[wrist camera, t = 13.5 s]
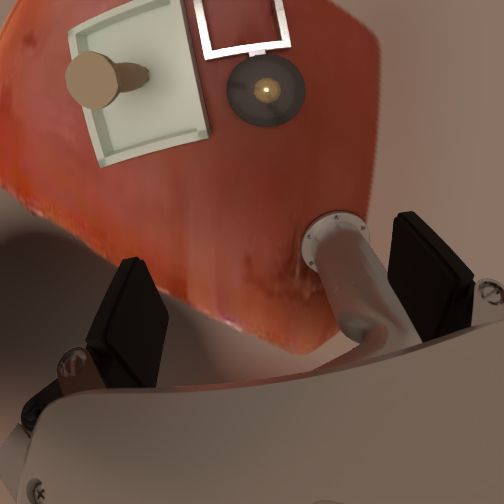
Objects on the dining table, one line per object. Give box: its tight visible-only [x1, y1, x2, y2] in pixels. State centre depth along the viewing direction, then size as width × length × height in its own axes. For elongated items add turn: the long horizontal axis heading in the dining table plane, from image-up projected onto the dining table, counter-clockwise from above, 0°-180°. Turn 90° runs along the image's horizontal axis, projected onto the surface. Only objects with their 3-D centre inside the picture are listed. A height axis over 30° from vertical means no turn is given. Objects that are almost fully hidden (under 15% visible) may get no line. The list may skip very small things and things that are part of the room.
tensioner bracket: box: [193, 0, 305, 127], centre depth 28 cm, size 21×11×8 cm, turn 10°
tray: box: [67, 0, 211, 168], centre depth 31 cm, size 22×16×4 cm
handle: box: [65, 51, 149, 111], centre depth 26 cm, size 5×6×15 cm
